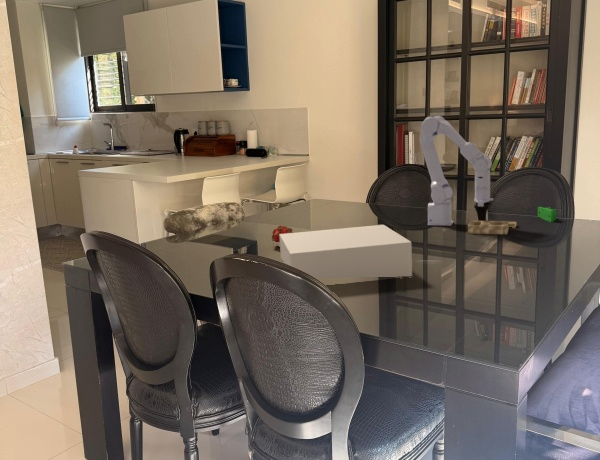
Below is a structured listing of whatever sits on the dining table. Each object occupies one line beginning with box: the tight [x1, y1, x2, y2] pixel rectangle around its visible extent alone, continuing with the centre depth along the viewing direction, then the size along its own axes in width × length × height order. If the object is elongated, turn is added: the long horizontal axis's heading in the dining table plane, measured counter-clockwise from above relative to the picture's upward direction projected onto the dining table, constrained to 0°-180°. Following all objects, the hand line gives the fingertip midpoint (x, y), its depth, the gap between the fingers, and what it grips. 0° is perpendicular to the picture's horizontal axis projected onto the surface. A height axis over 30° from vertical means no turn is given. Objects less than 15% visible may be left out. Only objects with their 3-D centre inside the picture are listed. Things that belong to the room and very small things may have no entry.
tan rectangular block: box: [509, 221, 517, 229], centre depth 221 cm, size 6×4×2 cm, turn 65°
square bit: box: [476, 212, 488, 221], centre depth 225 cm, size 4×4×7 cm
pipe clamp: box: [537, 206, 557, 223], centre depth 230 cm, size 11×4×5 cm, turn 4°
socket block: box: [467, 220, 510, 235], centre depth 216 cm, size 14×10×3 cm
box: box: [279, 224, 413, 279], centre depth 174 cm, size 28×35×11 cm
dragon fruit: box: [271, 225, 294, 242], centre depth 211 cm, size 8×8×12 cm
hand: (482, 221), depth 225 cm, fingers closed on square bit, 4 cm apart
